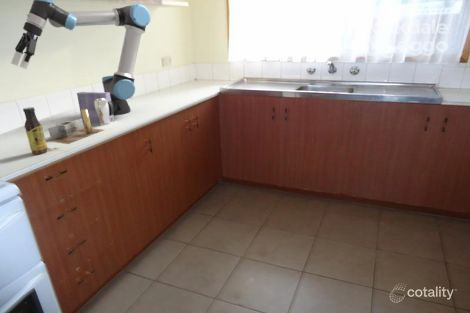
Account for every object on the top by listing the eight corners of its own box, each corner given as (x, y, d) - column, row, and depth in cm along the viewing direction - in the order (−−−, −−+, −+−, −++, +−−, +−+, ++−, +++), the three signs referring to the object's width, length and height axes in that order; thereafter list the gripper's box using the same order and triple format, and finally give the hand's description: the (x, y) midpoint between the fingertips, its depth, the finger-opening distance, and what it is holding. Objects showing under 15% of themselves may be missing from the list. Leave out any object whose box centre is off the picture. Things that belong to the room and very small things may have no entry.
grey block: (79, 129, 169) (76, 117, 167) (88, 130, 166) (85, 118, 164) (58, 136, 159) (55, 124, 156) (67, 137, 156) (64, 125, 154)
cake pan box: (117, 122, 184) (111, 91, 177) (112, 124, 179) (105, 92, 173) (87, 121, 188) (80, 91, 182) (82, 124, 184) (74, 93, 177)
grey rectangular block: (69, 131, 164) (66, 121, 162) (78, 132, 161) (75, 122, 159) (47, 139, 154) (44, 128, 152) (56, 140, 151) (53, 129, 149)
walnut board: (83, 130, 172) (82, 127, 172) (105, 132, 166) (104, 129, 165) (45, 143, 154) (45, 140, 153) (68, 147, 147) (68, 143, 147)
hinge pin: (90, 132, 162) (84, 109, 158) (94, 132, 161) (88, 109, 157) (85, 134, 160) (79, 110, 155) (89, 134, 159) (84, 110, 154)
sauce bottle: (40, 155, 139) (26, 110, 132) (28, 154, 141) (14, 110, 133) (52, 149, 145) (39, 106, 137) (41, 149, 147) (28, 106, 139)
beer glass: (98, 128, 173) (92, 101, 167) (99, 125, 179) (94, 98, 173) (112, 127, 175) (106, 99, 169) (113, 123, 181) (107, 97, 175)
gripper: (18, 20, 161) (2, 59, 161) (35, 22, 145) (17, 65, 145) (34, 28, 167) (19, 66, 167) (52, 30, 151) (35, 73, 151)
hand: (18, 66), depth 156 cm, fingers open, 13 cm apart
